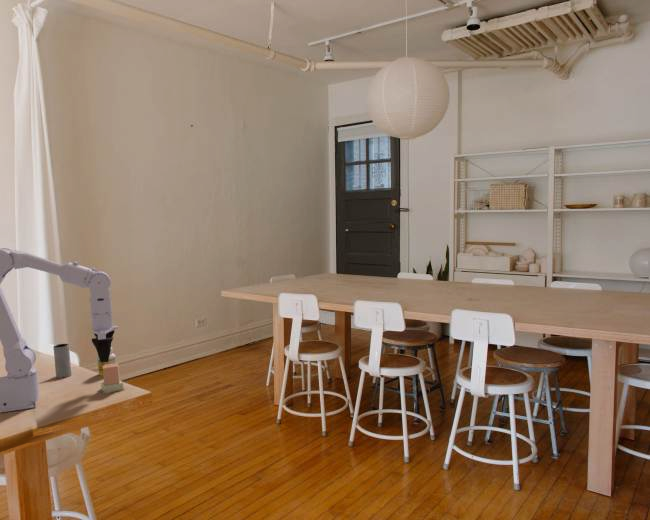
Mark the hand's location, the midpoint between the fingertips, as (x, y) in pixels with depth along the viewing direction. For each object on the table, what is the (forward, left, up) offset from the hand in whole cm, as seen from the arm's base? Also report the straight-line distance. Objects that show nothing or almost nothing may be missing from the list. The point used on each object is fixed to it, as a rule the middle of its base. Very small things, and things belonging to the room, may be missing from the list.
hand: (105, 358), depth 156 cm
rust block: (+2, -2, -7) cm, 7 cm away
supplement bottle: (-1, +16, -11) cm, 19 cm away
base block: (+1, -2, -11) cm, 11 cm away
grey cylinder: (-15, +25, -11) cm, 31 cm away
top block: (+1, -2, -9) cm, 9 cm away
